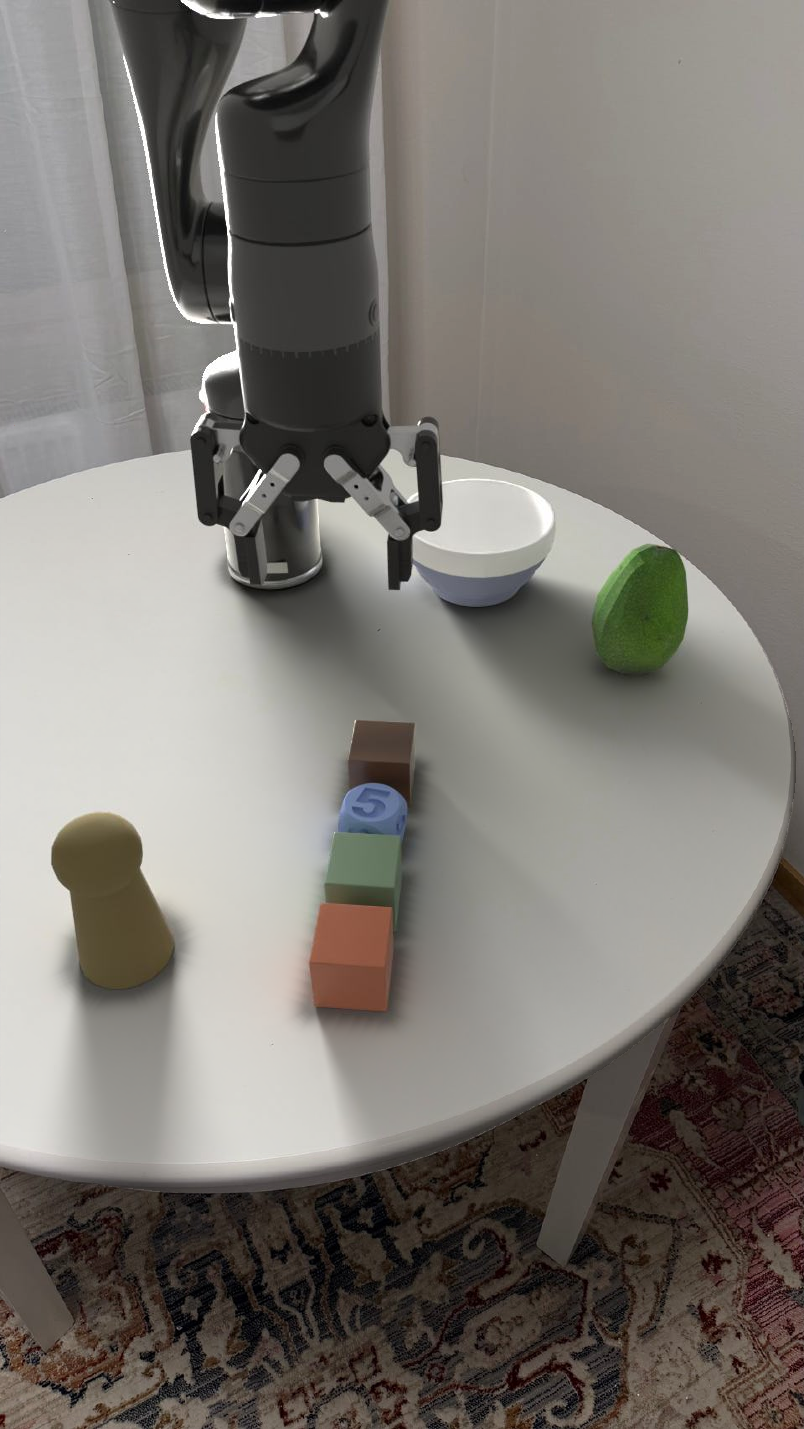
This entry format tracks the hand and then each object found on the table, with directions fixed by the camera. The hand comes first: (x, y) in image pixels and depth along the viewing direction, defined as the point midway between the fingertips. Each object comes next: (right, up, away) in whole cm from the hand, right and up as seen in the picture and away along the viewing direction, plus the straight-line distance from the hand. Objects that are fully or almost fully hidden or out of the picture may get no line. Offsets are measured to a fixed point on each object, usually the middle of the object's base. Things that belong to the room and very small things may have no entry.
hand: (326, 581), depth 63 cm
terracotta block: (+2, -25, +1) cm, 25 cm away
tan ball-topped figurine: (-13, -24, +3) cm, 27 cm away
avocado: (+25, -4, +25) cm, 36 cm away
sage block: (+2, -21, +5) cm, 22 cm away
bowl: (+12, +4, +35) cm, 37 cm away
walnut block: (+3, -14, +14) cm, 20 cm away
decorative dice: (+3, -18, +10) cm, 20 cm away
